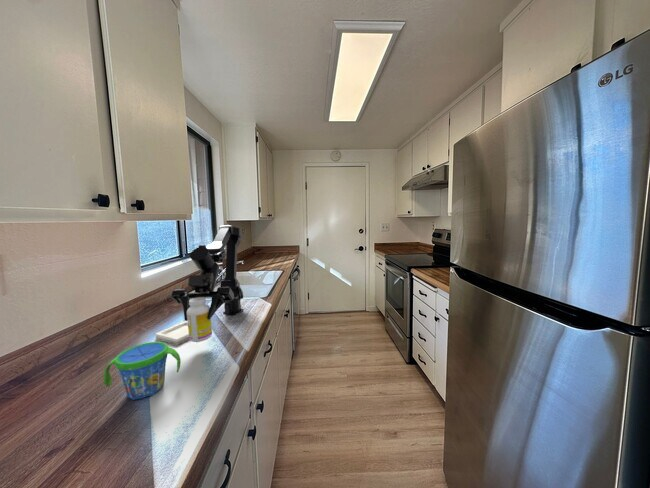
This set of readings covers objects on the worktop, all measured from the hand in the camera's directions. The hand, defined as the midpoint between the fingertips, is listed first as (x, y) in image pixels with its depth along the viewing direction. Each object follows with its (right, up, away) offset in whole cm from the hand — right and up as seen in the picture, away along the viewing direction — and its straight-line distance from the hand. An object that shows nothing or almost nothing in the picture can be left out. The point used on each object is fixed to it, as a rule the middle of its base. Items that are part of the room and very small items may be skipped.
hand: (197, 319), depth 79 cm
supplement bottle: (0, -7, +2) cm, 7 cm away
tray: (-13, -10, +14) cm, 22 cm away
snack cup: (-4, -13, -16) cm, 21 cm away
